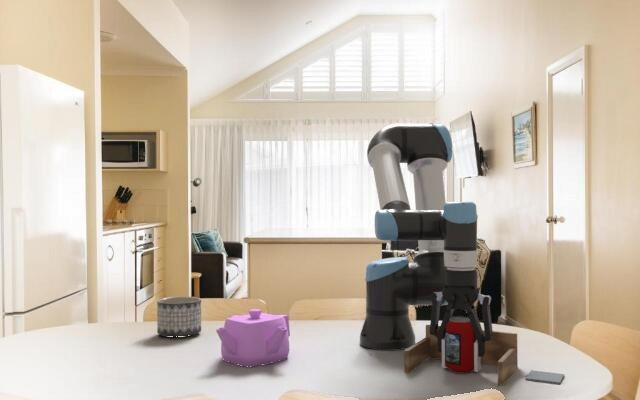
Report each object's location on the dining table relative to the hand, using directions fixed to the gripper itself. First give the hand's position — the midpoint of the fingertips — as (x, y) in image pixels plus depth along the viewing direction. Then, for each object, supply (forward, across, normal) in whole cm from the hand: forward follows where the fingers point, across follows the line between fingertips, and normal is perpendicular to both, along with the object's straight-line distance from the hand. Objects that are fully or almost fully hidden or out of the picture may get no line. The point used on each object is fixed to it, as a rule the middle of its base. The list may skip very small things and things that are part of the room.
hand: (461, 368), depth 142 cm
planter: (+1, -84, 0) cm, 84 cm away
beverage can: (+1, 0, 0) cm, 1 cm away
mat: (+1, +18, +2) cm, 18 cm away
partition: (+1, 0, 0) cm, 1 cm away
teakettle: (+1, -48, -14) cm, 50 cm away
